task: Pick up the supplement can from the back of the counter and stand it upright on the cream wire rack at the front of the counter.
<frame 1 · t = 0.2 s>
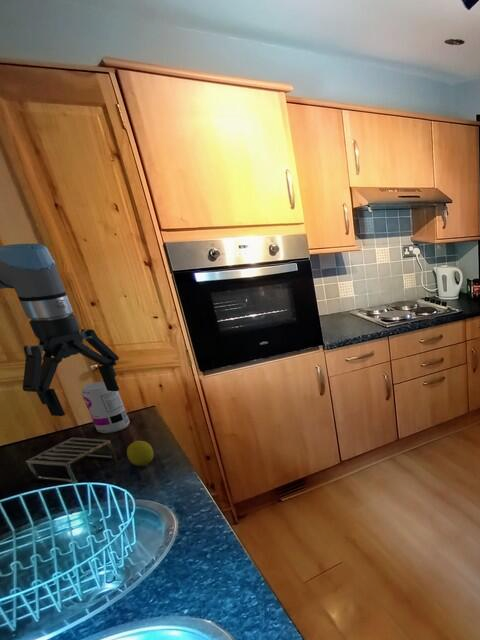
hand: (87, 402, 109), 24 cm above the worktop, tool pointing down, fingers open, 13 cm apart
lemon: (145, 466, 126), on the worktop
wire rack: (79, 472, 123), on the worktop
supplement can: (114, 428, 145), on the worktop
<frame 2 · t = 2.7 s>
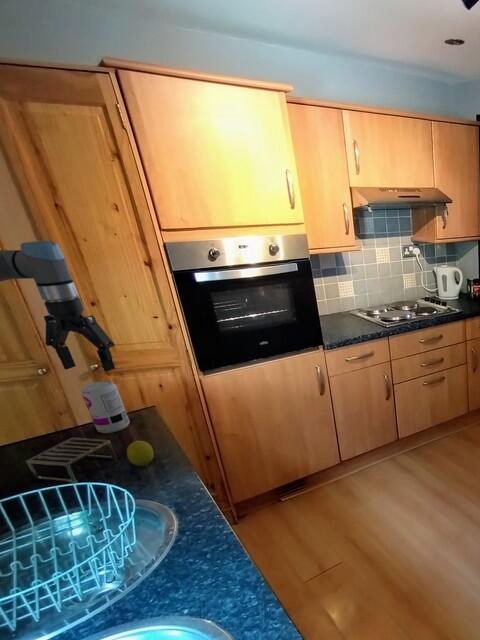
hand: (90, 369, 135), 21 cm above the worktop, tool pointing down, fingers open, 13 cm apart
nothing on the worktop moved.
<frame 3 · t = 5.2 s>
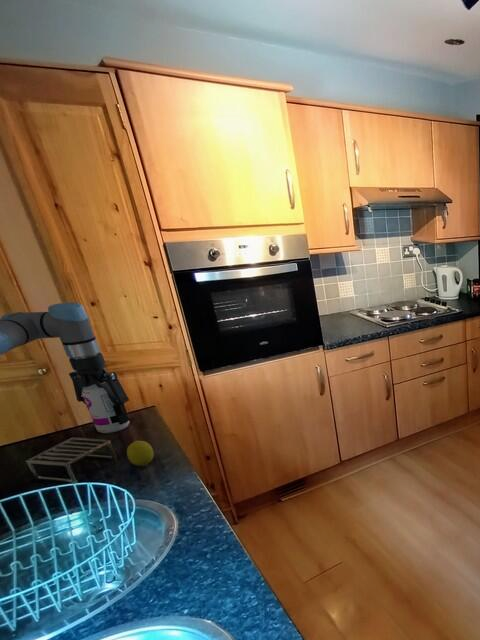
hand: (111, 421, 144), 2 cm above the worktop, tool pointing down, fingers closed on supplement can, 8 cm apart
supplement can: (114, 428, 145), on the worktop, touching gripper
everything else where it was.
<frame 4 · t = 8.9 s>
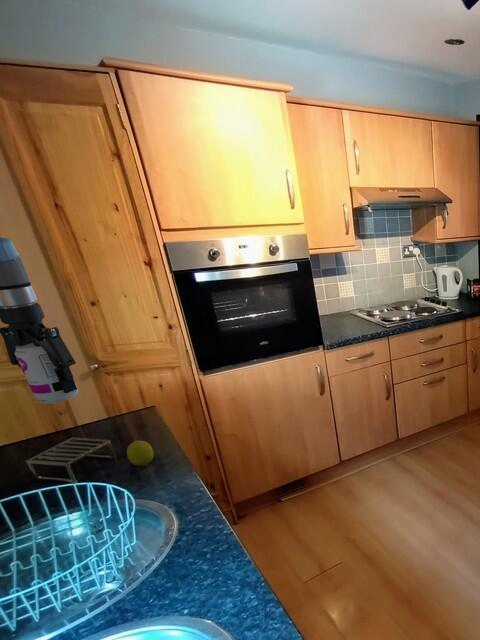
hand: (55, 390, 118), 22 cm above the worktop, tool pointing down, fingers closed on supplement can, 8 cm apart
supplement can: (59, 398, 119), point 20 cm above the worktop, touching gripper
everything else where it was.
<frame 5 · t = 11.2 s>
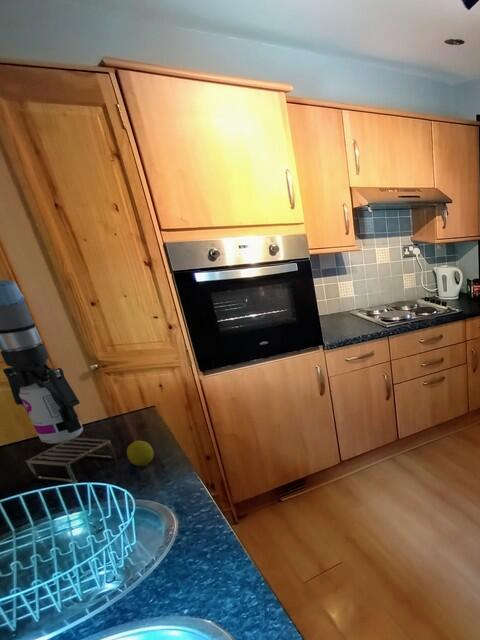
hand: (59, 429, 117), 13 cm above the worktop, tool pointing down, fingers closed on supplement can, 8 cm apart
supplement can: (63, 437, 118), point 11 cm above the worktop, touching gripper
everything else where it was.
when the fingers open (9 cm above the worktop, at t = 12.8 s): supplement can stays where it is, resting on wire rack.
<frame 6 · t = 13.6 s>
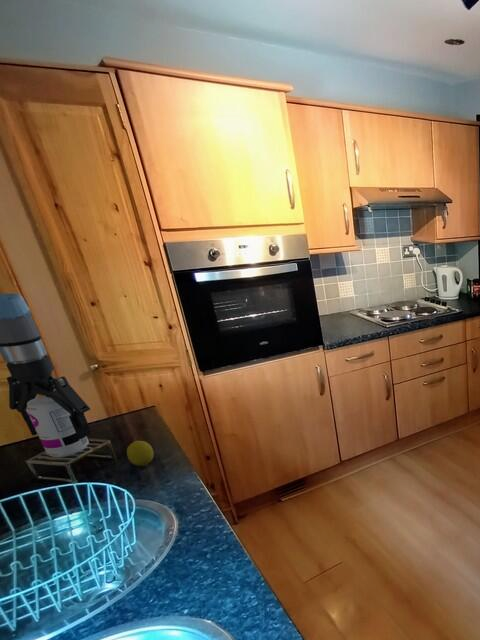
hand: (61, 434, 118), 12 cm above the worktop, tool pointing down, fingers open, 13 cm apart
supplement can: (69, 450, 120), point 7 cm above the worktop, touching wire rack
everything else where it was.
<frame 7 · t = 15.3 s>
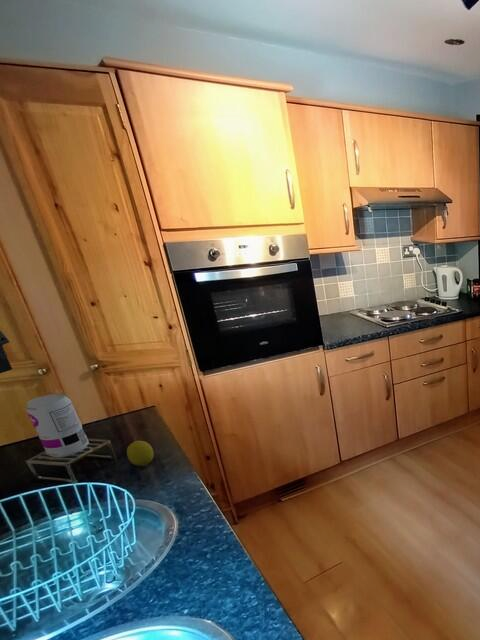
nothing on the worktop moved.
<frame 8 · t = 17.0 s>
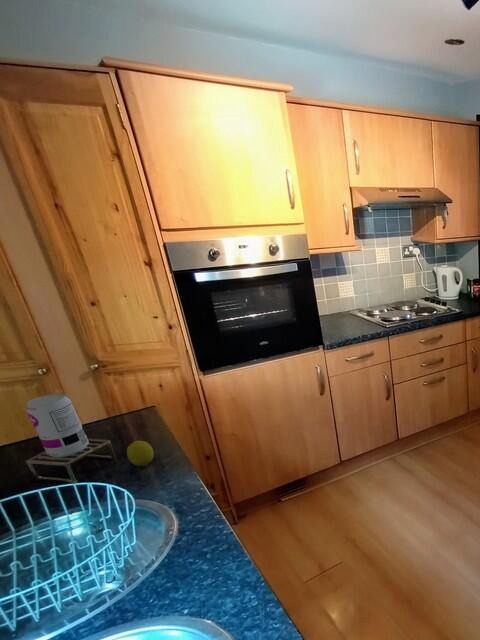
nothing on the worktop moved.
at the end: supplement can inside the target area on the wire rack (0.0 cm from its centre), point 6.8 cm above the wire rack's base; supplement can tilted 0°; the gripper is holding nothing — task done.
